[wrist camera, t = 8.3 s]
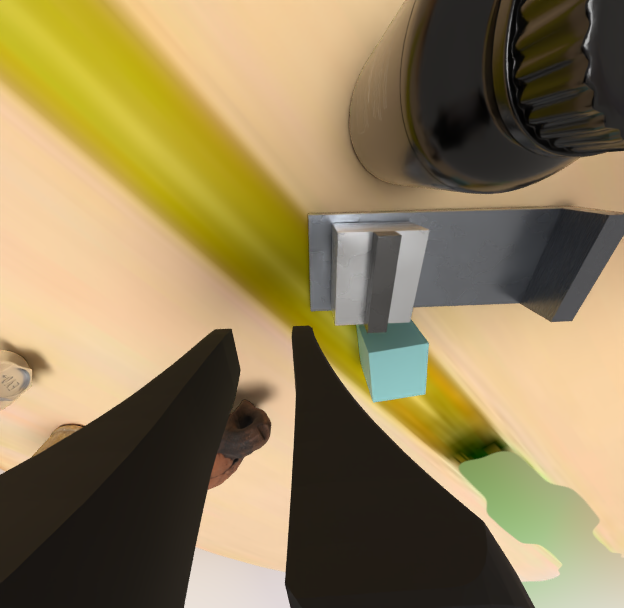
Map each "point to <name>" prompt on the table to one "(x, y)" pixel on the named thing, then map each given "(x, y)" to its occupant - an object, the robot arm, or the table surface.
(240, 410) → the brown looped part
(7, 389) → the screw
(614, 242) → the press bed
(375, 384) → the teal block
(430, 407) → the table surface
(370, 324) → the grey stepped block
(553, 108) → the supplement bottle
